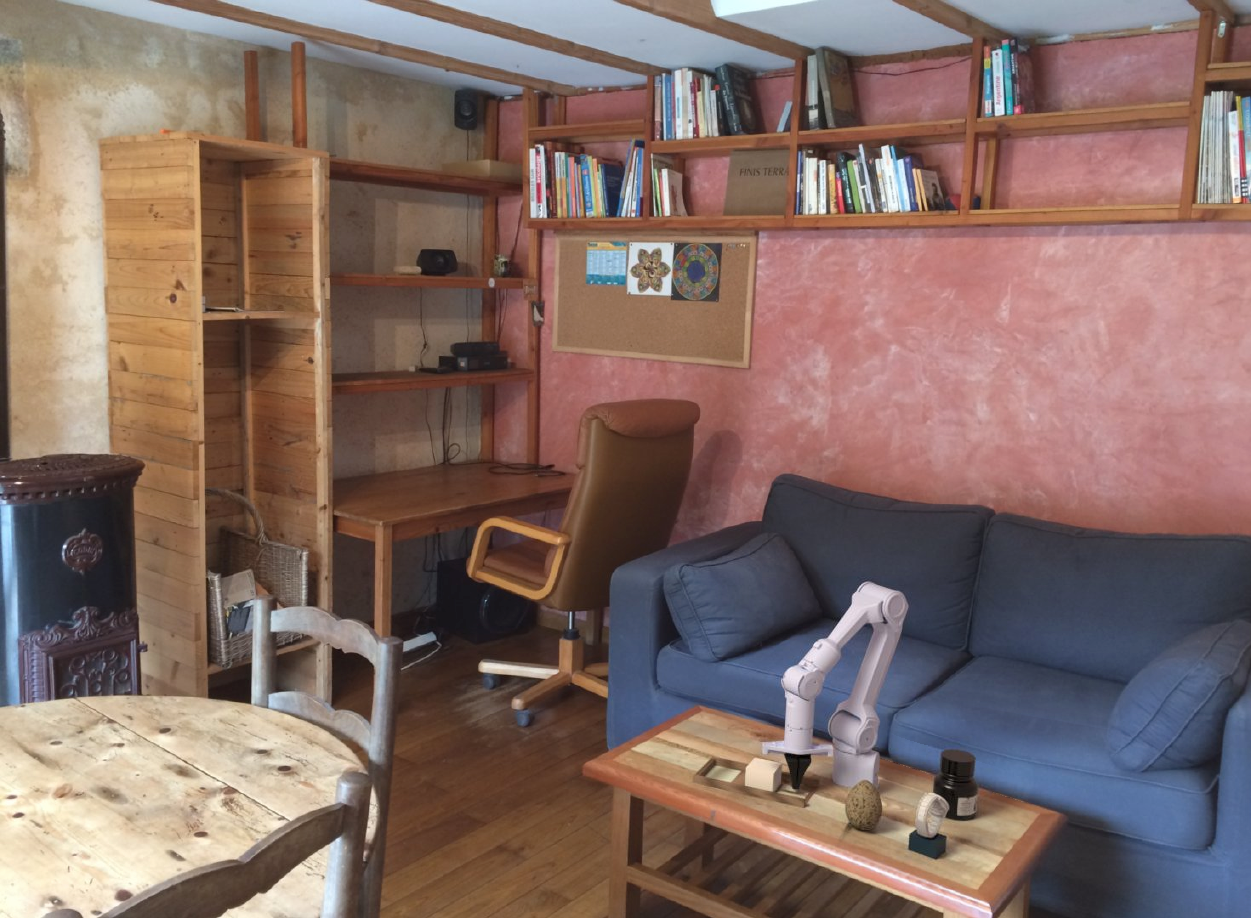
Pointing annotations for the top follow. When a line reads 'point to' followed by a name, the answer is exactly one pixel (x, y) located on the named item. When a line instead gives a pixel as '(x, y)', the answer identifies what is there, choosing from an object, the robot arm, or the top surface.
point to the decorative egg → (863, 806)
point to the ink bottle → (957, 784)
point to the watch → (929, 827)
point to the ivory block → (763, 774)
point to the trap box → (733, 780)
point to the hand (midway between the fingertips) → (795, 787)
